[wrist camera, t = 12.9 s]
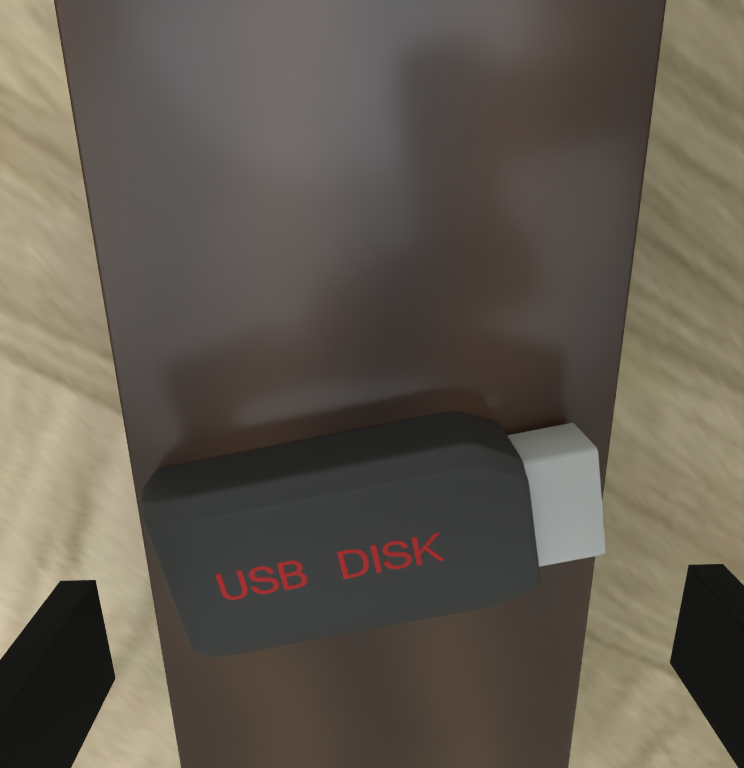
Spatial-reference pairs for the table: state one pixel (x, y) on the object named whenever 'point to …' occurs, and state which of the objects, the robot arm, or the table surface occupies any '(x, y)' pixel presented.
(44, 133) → the table surface
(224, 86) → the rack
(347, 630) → the usb drive
